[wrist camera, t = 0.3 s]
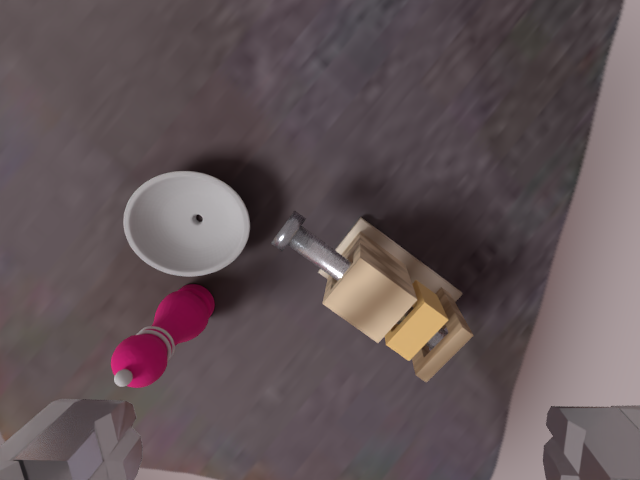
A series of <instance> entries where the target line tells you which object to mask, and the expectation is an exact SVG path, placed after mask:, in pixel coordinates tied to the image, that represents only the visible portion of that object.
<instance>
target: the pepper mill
mask: <svg viewBox="0 0 640 480" xmlns="http://www.w3.org/2000/svg"><path fill="white" fill-rule="evenodd" d="M214 307H215V303H214V299H213V296H212V295H211V293H210V292H209V291H208V290H207V289H206V288H204V287H203V286H200V285H197V284H188V285H185V286H183V287H182V288H181V289H179V290H178V291H176V292H173V293H171V294H169V295H168V296H166V297H165V298H164V299H163V301H162V302H161V303H160V304H159V306H158V309H157V311H156V314H155V318H154V323H153V325H152V326H149V327H146V328H143V329H142V330H141V331H140V332H139V333H137V334H136V335H134V336H130V337H128V338H127V339H125V340H123V341H122V342H121V343H120V344H119V345H118V346H117V348H116V349H115V351H114V353H113V356H112V359H111V367H112V371H113V373H114V375H115V377H114V381H115V383H116V385H118V386H121V387H123V386H129V387H134V388H140V387H145V386H148V385H150V384H152V383H153V382H155V381H156V380H157V379H159V377H160V376H161V375H162V374H163V373H164V371H165V369H166V366H167V361H168V360H169V359H170V358H171V357H172V355H173V354H174V350H175V346H176V345H177V344H178V343H182V342H186V341H189V340H191V339H193V338H195V337H196V336H198V335H199V334H200V333H201V332H202V331H203V330H204V329H205V327H206V325H207V323H208V318H209V317H210V316H211V315H212V313H213V311H214Z"/></svg>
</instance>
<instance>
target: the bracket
mask: <svg viewBox="0 0 640 480" xmlns="http://www.w3.org/2000/svg"><path fill="white" fill-rule="evenodd" d="M335 251H337V252H338V253H339V254H341V255H342V256H343V257H345V258H346V259H348V260H349V261H350V262H352V264H351V266H350V267H349V268H348V269H347V271H346V272H345V273H344V274H343V275H342V277H341V278H340V279H339V280H338V281H337V280H336V279H334V278H333V277H331V276H330V275H329V274H327V273H326V272H324V271H323V270H322V269H319V272H318V273H320V274H321V275H322V276H324V277H325V278H327V279H328V280H327V285H326V290H325V295H324V299H323V304H324V305H325V306H327V307H328V308H329V309H331V310H332V311H334V312H335V313H336V314H338V315H339V316H341V317H342V318H343V319H345V320H346V321H348V322H349V323H350V324H352V325H353V326H355V327H356V328H357V329H359V330H360V331H362V332H363V333H364V334H366V335H367V336H369V337H370V338H371V339H373V340H374V341H376V342H377V343H379V342H380V340H381V339H382V338H383V337H384V336H385V335H386V334H387V333H388V332H389V331H390V330H391V328H392V327H393V326H394V325H395V324H396V323H397V322H398V321H399V320H400V319H401V317H402V316H403V315H404V314H405V313H406V312H407V311H408V310H409V309H410V308H411V306H412V305H413V304H414V303H415V302H416V301H417V297H416V294H415V291H414V288H413V285H412V284H413V283H414V281H415V280H417V281H419V282H420V283H421V284H423V285H424V286H425V287H427V288H428V289H429V290H431V291H432V292H434V293H435V294H436V295H437V296H438V298H439V300H440V303H441V305H442V307H443V309H444V311H445V313H446V315H447V317H448V319H449V320H448V321H447V322H446V323H445V324H444V325H443V326H442V327H441V328H442V329H443V330H444V329H445V328H446V327H447V329H448V332H449V333H448V334H447V335H446V336H445V337H444V338H443V339H442V340H441V341H440V342H439V343H438V344H437V345H436V346H435V347H434V348H433V349H432V350H431V351H430V350H429V347H428V346H427V345H426V344H425V345H424V346H423V347H422V348H421V349H420V350H419V351H418V352H417V354H416V355H415V356H414V357H413V358H412V361H413V365H414V370H415V374H416V375H417V376H418V377H419V378H421V379H422V380H424V381H425V382H427V381H428V380H429V379H430V378H431V377H432V376H433V375H434V374H435V373H436V372H437V371H438V370H439V369H440V368H441V367H442V366H443V365H444V364H445V363H446V362H447V361H448V360H449V359H450V358H451V357H452V356H453V355H454V354H455V353H456V352H457V351H458V350H459V349H460V348H461V347H462V346H463V345H464V344H465V343H466V342H467V341H468V340H469V339H470V338H471V337H472V336H473V334H472V332H471V330H470V328H469V327H468V325H467V323H466V321H465V319H464V318H463V316H462V314H461V312H460V310H459V309H458V307H457V305H456V303H455V302H456V301H457V300H458V299H459V298H460V297H461V295H462V292H461V291H460V290H458V289H457V288H456V287H454V286H453V285H452V284H450V283H449V282H448V281H446V280H445V279H444V278H442V277H441V276H440V275H438V274H437V273H436V272H434V271H433V270H432V269H430V268H429V267H427V266H426V265H425V264H423V263H422V262H421V261H419V260H418V259H417V258H415V257H414V256H413V255H411V254H410V253H409V252H407V251H406V250H405V249H403V248H402V247H401V246H399V245H398V244H397V243H395V242H394V241H393V240H391V239H390V238H389V237H387V236H386V235H385V234H383V233H382V232H380V231H379V230H378V229H376V228H375V227H374V226H372V225H371V224H370V223H368V222H367V221H366V220H364V219H363V218H362V217H360V219H359V220H358V221H357V222H356V224H355V225H354V226H353V228H352V229H351V230H350V231H349V233H348V234H347V235H346V236H345V238H344V239H343V240H342V241H341V243H340V244H339V245H338V247H337V248H336V249H335Z"/></svg>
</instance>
